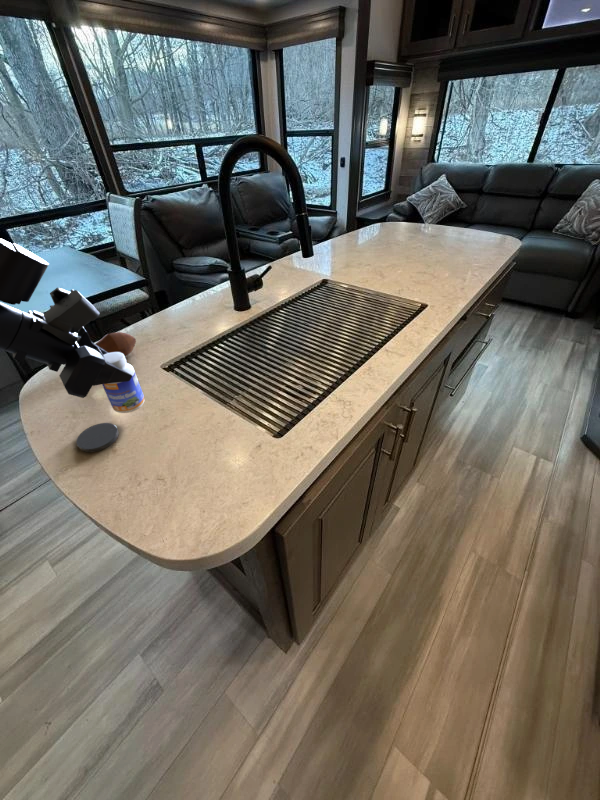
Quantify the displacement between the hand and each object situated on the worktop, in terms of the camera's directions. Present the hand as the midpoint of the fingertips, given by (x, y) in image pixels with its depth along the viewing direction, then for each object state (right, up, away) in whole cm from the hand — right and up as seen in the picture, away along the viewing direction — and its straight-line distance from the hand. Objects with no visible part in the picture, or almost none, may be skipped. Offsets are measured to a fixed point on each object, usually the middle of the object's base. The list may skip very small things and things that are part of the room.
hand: (125, 371), depth 56 cm
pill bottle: (-1, -6, +4) cm, 7 cm away
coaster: (-8, -12, +6) cm, 16 cm away
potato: (-18, +6, +30) cm, 35 cm away
